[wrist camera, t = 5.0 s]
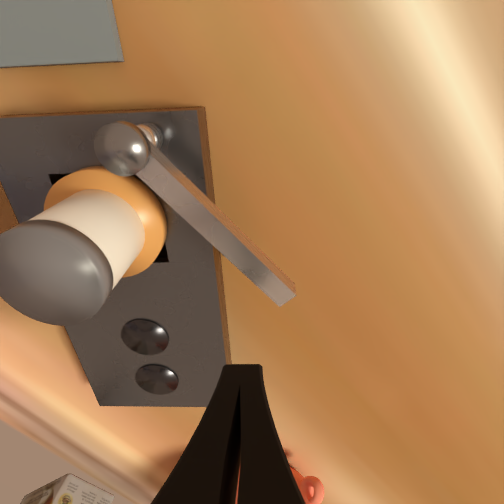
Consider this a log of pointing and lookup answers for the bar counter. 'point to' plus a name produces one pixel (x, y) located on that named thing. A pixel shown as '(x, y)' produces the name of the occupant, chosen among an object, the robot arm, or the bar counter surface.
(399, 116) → the bar counter surface
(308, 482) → the sugar bowl
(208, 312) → the grey lever panel
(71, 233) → the plug
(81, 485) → the coffee box
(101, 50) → the mat
